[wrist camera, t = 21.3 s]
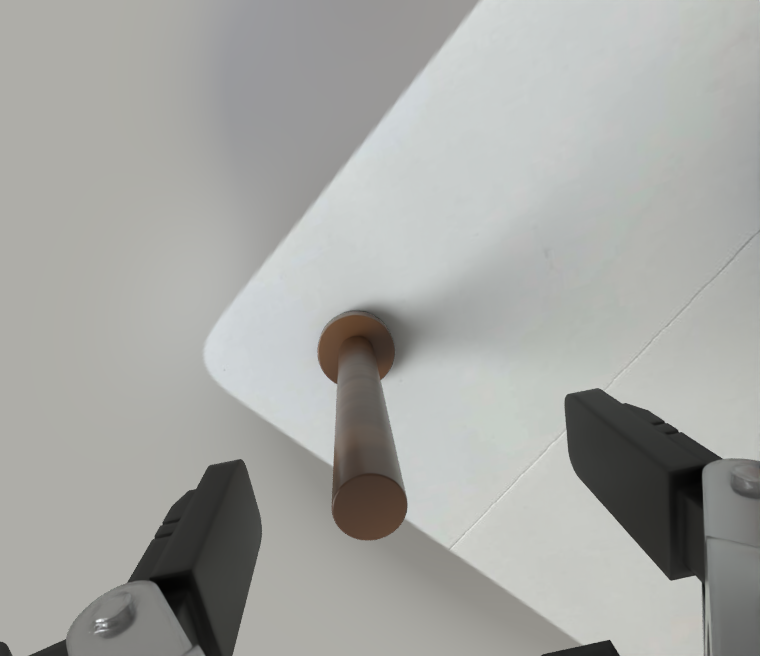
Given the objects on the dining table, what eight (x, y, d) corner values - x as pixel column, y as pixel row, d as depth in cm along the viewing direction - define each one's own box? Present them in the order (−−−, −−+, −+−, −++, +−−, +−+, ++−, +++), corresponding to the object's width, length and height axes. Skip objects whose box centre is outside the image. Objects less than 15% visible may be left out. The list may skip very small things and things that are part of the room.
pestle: (304, 357, 27) (252, 533, 12) (345, 296, 26) (346, 399, 11) (365, 395, 28) (390, 604, 13) (407, 336, 27) (485, 484, 12)
